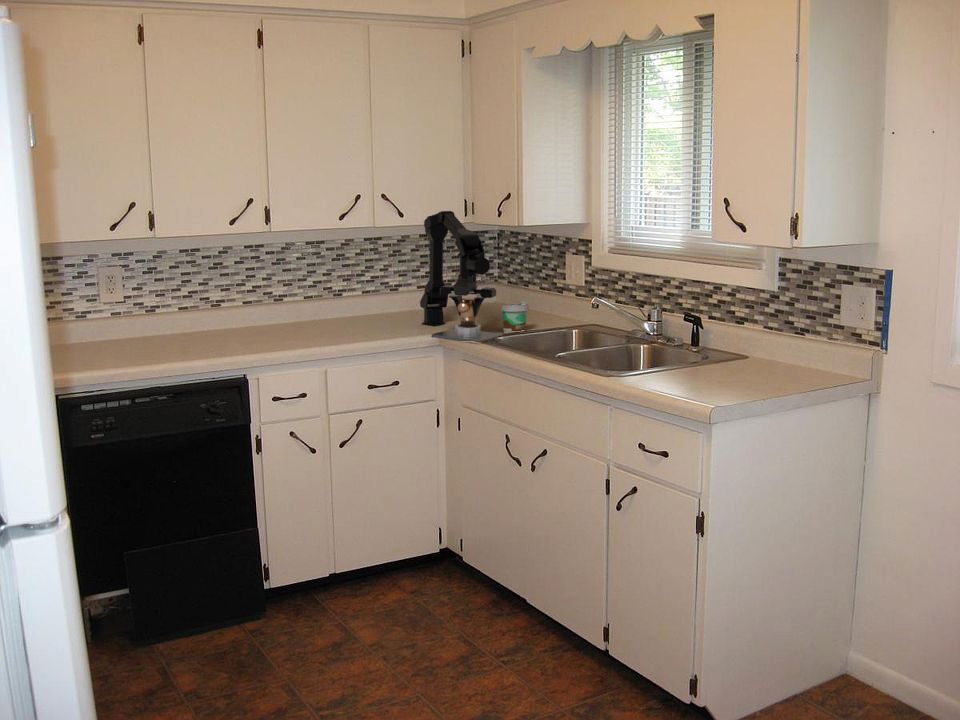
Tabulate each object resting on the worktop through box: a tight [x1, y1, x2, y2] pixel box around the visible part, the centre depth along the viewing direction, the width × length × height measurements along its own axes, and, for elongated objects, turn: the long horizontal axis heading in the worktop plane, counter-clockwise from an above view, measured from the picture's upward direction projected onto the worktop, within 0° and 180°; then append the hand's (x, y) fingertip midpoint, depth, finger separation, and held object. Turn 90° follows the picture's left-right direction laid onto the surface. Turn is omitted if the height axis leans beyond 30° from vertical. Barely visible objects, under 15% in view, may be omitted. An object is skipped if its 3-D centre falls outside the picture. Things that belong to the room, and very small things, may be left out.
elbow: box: [456, 297, 476, 326], centre depth 339 cm, size 5×8×9 cm, turn 161°
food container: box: [500, 301, 530, 332], centre depth 352 cm, size 12×6×10 cm, turn 143°
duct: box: [431, 323, 505, 342], centre depth 342 cm, size 20×15×4 cm
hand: (467, 316), depth 341 cm, fingers closed on elbow, 5 cm apart
